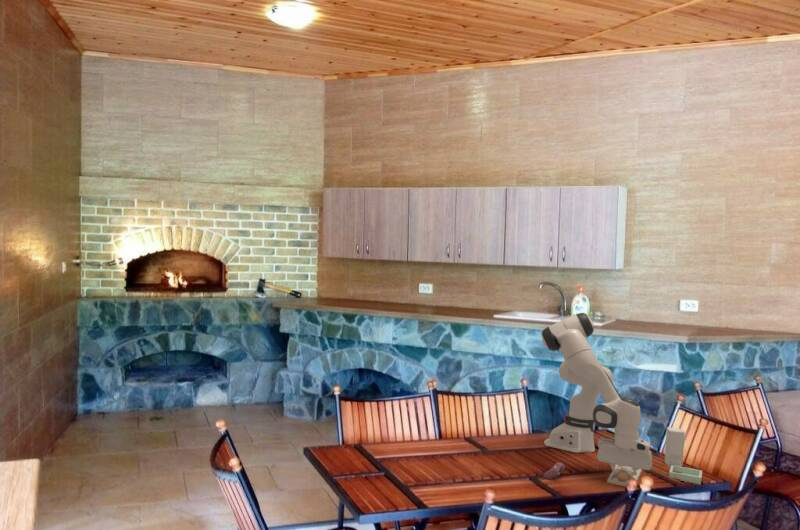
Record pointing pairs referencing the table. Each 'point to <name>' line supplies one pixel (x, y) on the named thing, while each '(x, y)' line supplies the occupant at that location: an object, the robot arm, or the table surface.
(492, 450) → the table surface
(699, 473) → the dish
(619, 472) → the brown egg
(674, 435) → the skincare box
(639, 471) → the shallow rectangular tray
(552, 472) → the brown animal figurine
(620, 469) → the white egg
